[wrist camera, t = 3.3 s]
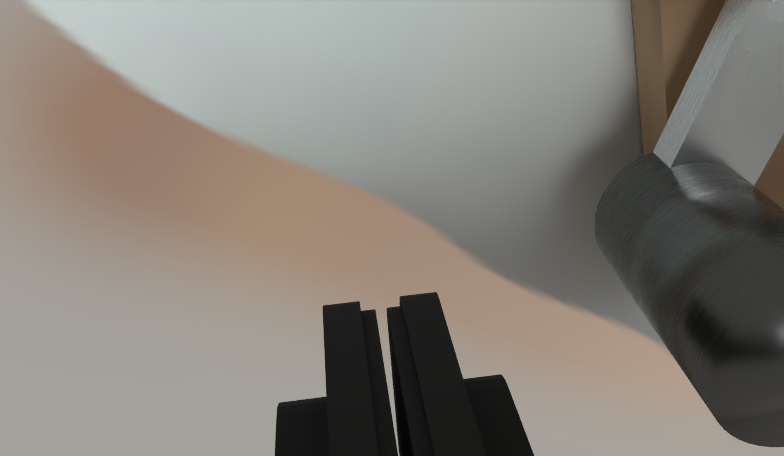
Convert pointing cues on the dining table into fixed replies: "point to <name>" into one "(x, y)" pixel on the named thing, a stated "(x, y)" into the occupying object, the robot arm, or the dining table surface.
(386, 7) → the dining table surface
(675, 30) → the board
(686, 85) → the lever
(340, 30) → the dining table surface
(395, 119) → the dining table surface
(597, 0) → the dining table surface
